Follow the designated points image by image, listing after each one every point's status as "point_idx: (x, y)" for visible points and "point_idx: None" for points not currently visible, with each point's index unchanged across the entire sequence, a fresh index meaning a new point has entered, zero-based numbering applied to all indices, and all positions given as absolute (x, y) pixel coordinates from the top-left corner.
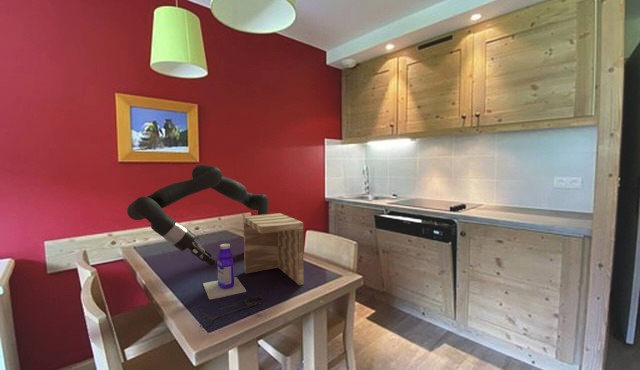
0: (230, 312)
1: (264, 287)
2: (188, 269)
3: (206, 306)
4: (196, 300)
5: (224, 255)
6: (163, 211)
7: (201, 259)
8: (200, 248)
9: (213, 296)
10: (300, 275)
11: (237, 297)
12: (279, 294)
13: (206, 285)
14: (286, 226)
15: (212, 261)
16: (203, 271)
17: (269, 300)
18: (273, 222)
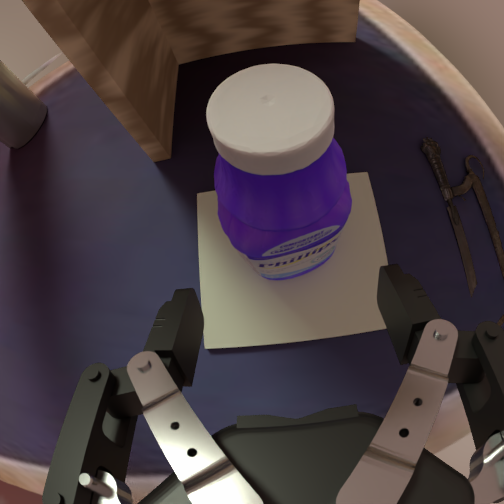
0: (502, 252)
1: (344, 113)
2: (37, 372)
3: None
4: (376, 379)
5: (341, 169)
6: None
7: (487, 383)
8: (424, 437)
9: None
10: (356, 17)
11: (407, 214)
12: (409, 94)
13: (239, 335)
14: None
15: (418, 288)
16: (69, 324)
17: (444, 128)
18: None
